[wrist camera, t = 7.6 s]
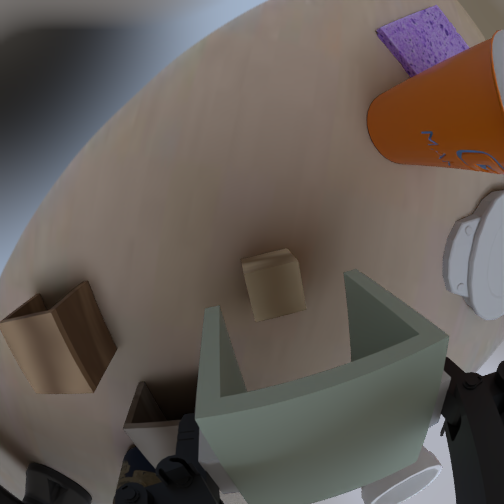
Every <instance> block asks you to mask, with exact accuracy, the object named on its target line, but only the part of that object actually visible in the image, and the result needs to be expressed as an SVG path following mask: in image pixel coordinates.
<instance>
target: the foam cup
mask: <svg viewBox="0 0 504 504" xmlns="http://www.w3.org/2000/svg"><path fill="white" fill-rule="evenodd" d="M442 468H443V467H442V465H441V464H440V463H439V461H438V460H437V458H436V457H435V455H434V454H433V453H432V452H430V451H428V450H427V449H426V448H425V447H424V446H423V445H422V448H421V451H420V453H419V456H418V459H417V461H416V462H415V463H413V464H411V465H409V466H407V467H405V468H403V469H401V470H399V471H397V472H395V473H393V474H391V475H388V476H386V477H384V478H382V479H380V480H377V481H375V482H372V483H370V484H368V485H365V486H363V487H361V489H362V491H361V492H362V499H363V501H364V503H365V504H399V503H402V502H404V501H405V500H407V499H409V498H411V497H412V496H414V495H416V494H417V493H419V492H420V491H421V490H423V489H424V488H425V487H427V486H428V485H429V484H430V483H431V482H432V481H433V480H434V479H435V478H436V477H437V476H438V475H439V474H440V472H441V470H442Z"/></svg>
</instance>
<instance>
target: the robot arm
mask: <svg viewBox="0 0 504 504" xmlns="http://www.w3.org/2000/svg"><path fill="white" fill-rule="evenodd" d="M441 414H442V415H443V417H444V418H445V422H444V425H443V427H442V430H441V435H440V436H443V434H444V431H445V432H446V437H447V442H448V447H449V452H450V458H451V464H452V470H453V477H454V484H455V493H456V504H504V361H502V362H501V363H500V364H499V366H498V368H497V371H496V372H494V373H491V374H488V375H485V376H481V375H479V374H477V373H473V372H470V373H465V372H464V371H463V370H461V369H460V368H459V367H458V366H457V365H456V364H455V363H454V362H452V361H451V360H450V359H449V358H448V357H446V359H445V365H444V370H443V374H442V379H441V384H440V388H439V392H438V396H437V400H436V404H435V407H434V411H433V414H432V418H431V421H430V424H429V427H431V426H433V425H435V424H436V423H438V421H439V419H440V415H441ZM155 472H156V476H157V477H158V478H159V479H160V480H161V481H162V482H160V483H157V484H153V485H150V486H146V487H144V486H143V485H141V484H139V483H136V482H129V483H125V484H124V485H122V486H120V488H119V489H118V490H117V492H116V496H115V504H224V503H223V501H222V500H221V499H220V495H219V490H220V491H221V492H222V493H223V494H228V493H236V492H239V490H238V489H237V487H236V486H235V484H234V483H233V481H232V480H231V478H230V477H229V475H228V474H227V472H226V471H225V469H224V468H223V466H222V465H221V463H220V461H219V460H218V458H217V457H216V455H215V453H214V452H213V450H212V448H211V447H210V445H209V443H208V442H207V440H206V438H205V436H204V435H203V433H202V431H201V429H200V428H199V426H198V424H197V422H196V421H195V413H191V414H184V416H183V417H182V419H181V421H180V422H179V427H178V435H177V444H176V453H175V455H171V456H168V457H166V458H164V459H162V460H161V461H160V462H159V463H158V464H157V467H156V469H155ZM91 500H92V498H91V496H90V495H89V494H88V492H86V491H85V490H84V489H83V488H82V487H80V486H79V485H78V484H76V483H75V482H73V481H72V480H70V479H68V478H67V477H65V476H63V475H62V474H60V473H58V472H56V471H54V470H52V469H50V468H48V467H45V466H43V465H40V464H36V463H31V464H29V466H28V468H27V471H26V490H25V496H24V498H23V501H21V500H19V499H18V498H17V497H15V496H14V495H13V494H11V493H10V492H9V491H7V490H6V489H5V488H4V487H2V486H1V485H0V504H91Z"/></svg>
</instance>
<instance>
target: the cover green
mask: <svg viewBox="0 0 504 504" xmlns="http://www.w3.org/2000/svg"><path fill="white" fill-rule="evenodd" d="M344 280H345V289H346V298H347V308H348V319H349V332H350V346H351V362H350V363H347V364H344V365H342V366H339V367H336V368H333V369H330V370H327V371H324V372H320V373H317V374H314V375H311V376H307V377H304V378H301V379H297V380H293V381H290V382H286V383H282V384H279V385H275V386H271V387H267V388H263V389H259V390H254V391H250V392H247V390H246V387H245V384H244V381H243V378H242V375H241V372H240V369H239V366H238V363H237V360H236V357H235V354H234V351H233V347H232V344H231V341H230V338H229V335H228V332H227V328H226V325H225V322H224V319H223V315H222V312H221V309H220V306H219V305H218V306H214V307H210V308H206V309H205V313H204V322H203V331H202V340H201V350H200V361H199V372H198V383H197V395H196V408H195V421H196V422H197V424H198V426H199V428H200V429H201V431H202V433H203V435H204V436H205V438H206V440H207V442H208V443H209V445H210V447H211V448H212V450H213V452H214V453H215V455H216V457H217V458H218V460H219V461H220V463H221V465H222V466H223V468H224V469H225V471H226V472H227V474H228V475H229V477H230V478H231V480H232V481H233V483H234V484H235V486H236V487H237V489H238V490H239V492H240V493H241V494H242V496H243V497H244V499H245V500H246V501H247V503H248V504H311V503H315V502H318V501H322V500H325V499H328V498H331V497H334V496H338V495H341V494H344V493H346V492H349V491H352V490H355V489H357V488H360V487H363V486H365V485H368V484H370V483H372V482H375V481H377V480H380V479H382V478H384V477H386V476H388V475H391V474H393V473H395V472H397V471H399V470H401V469H403V468H405V467H407V466H409V465H411V464H413V463H415V462H416V461H417V459H418V456H419V453H420V451H421V448H422V445H423V442H424V440H425V437H426V434H427V431H428V428H429V424H430V421H431V418H432V414H433V411H434V407H435V404H436V400H437V396H438V392H439V388H440V384H441V379H442V374H443V370H444V365H445V359H446V354H447V348H448V341H449V335H447V334H446V333H445V332H443V331H442V330H441V329H440V328H438V327H437V326H436V325H434V324H433V323H432V322H430V321H429V320H427V319H426V318H425V317H423V316H422V315H421V314H419V313H418V312H417V311H415V310H414V309H413V308H411V307H410V306H408V305H407V304H406V303H404V302H403V301H401V300H400V299H399V298H397V297H396V296H394V295H393V294H392V293H390V292H389V291H387V290H386V289H385V288H383V287H382V286H380V285H379V284H377V283H376V282H375V281H373V280H372V279H370V278H369V277H367V276H366V275H365V274H363V273H362V272H360V271H359V270H357V269H354V270H351V271H347V272H344Z"/></svg>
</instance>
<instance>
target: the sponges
mask: <svg viewBox="0 0 504 504" xmlns="http://www.w3.org/2000/svg"><path fill="white" fill-rule="evenodd" d="M376 32H378V34H377V35H378V37H379V39H380V40H381V41H382V42H383V43H384V44H385V45H386V47H387V48H388V49H389V50H390V51H391V53H392V54H393V55H394V56H395V58H396V59H397V60H398V61H399V62H400V63H401V64H402V66H403V68H404V69H405V71H406V72H407V73H408V74H409V76H410V77H413V76H415V75H417V74H419V73H421V72H422V71H424V70H426V69H428V68H430V67H432V66H434V65H436V64H438V63H440V62H442V61H444V60H446V59H448V58H450V57H452V56H454V55H456V54H458V53H460V52H462V51H464V50H466V49H469V47H468V45H467V44H466V43H465V41H464V40H463V38H462V37H461V36H460V34H458V33H457V32H456V29H455V28H454V26H453V25H452V24H451V22H449V21H448V19H447V18H446V16H445V15H444V13H443V12H442V11H441V10H440V9H439V7H438V6H437V5H434V6H433V7H429V8H427V9H425V10H422V11H419V12H416V13H414V14H411V15H408V16H406V17H404V18H401V19H398V20H396V21H394V22H391V23H389V24H387V25H384V26H382V27H380V28H379V29H377V31H376Z"/></svg>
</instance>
